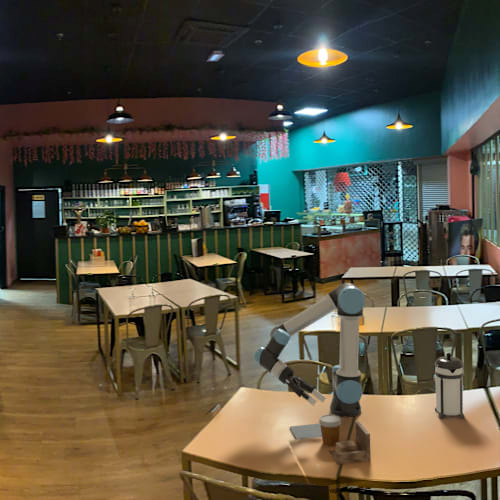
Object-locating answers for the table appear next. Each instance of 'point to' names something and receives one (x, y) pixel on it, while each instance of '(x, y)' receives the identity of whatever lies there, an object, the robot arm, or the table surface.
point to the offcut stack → (346, 446)
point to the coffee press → (449, 386)
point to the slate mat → (306, 431)
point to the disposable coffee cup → (330, 429)
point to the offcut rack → (362, 447)
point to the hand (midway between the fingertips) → (319, 401)
